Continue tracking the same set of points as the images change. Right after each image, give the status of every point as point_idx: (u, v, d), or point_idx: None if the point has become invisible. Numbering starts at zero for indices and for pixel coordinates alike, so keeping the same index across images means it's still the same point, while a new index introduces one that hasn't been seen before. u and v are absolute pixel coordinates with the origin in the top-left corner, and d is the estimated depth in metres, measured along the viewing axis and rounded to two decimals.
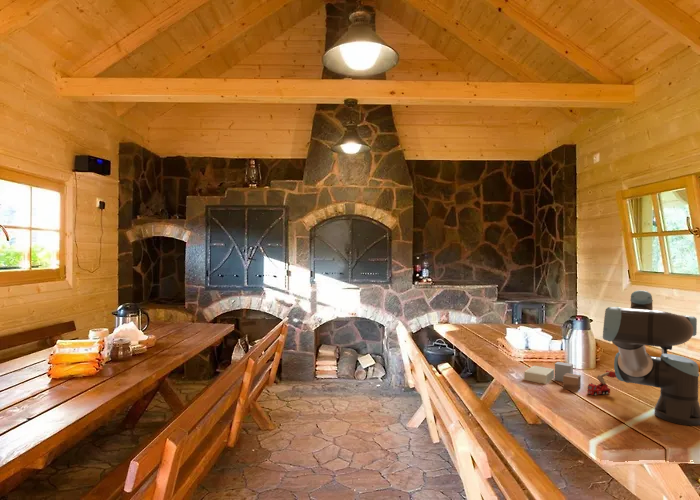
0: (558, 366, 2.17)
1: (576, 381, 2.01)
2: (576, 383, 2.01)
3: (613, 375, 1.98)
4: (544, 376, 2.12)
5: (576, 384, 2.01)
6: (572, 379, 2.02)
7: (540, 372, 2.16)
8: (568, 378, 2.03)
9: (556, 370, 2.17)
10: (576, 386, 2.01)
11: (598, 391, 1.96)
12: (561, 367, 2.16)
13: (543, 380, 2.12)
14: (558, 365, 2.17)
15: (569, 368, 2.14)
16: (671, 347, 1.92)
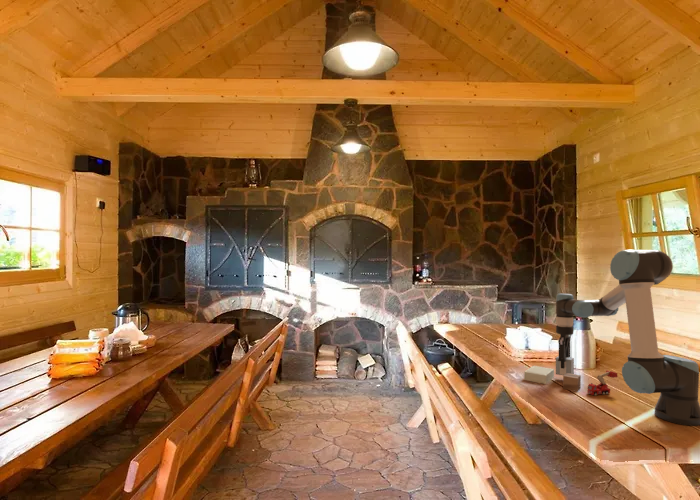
0: None
1: (576, 381, 2.01)
2: (576, 383, 2.01)
3: (613, 375, 1.98)
4: (544, 376, 2.12)
5: (576, 384, 2.01)
6: (572, 379, 2.02)
7: (540, 372, 2.16)
8: (568, 378, 2.03)
9: (557, 364, 2.17)
10: (576, 386, 2.01)
11: (598, 391, 1.96)
12: None
13: (543, 380, 2.12)
14: None
15: (570, 362, 2.13)
16: None
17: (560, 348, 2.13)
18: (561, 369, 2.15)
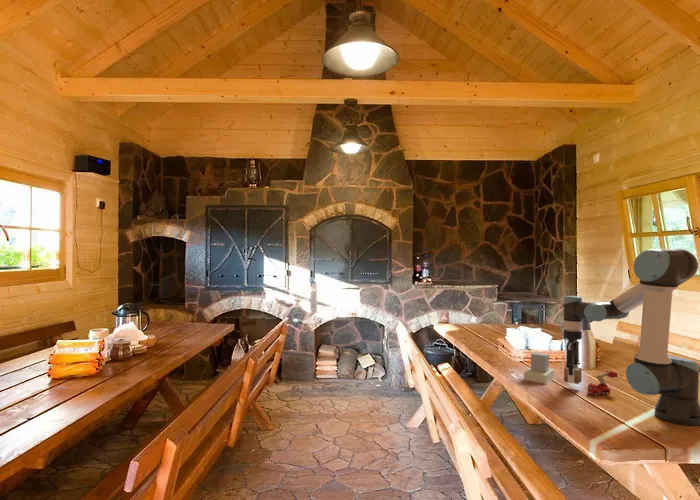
0: (534, 356, 2.19)
1: (577, 373, 2.01)
2: (577, 375, 2.01)
3: (613, 375, 1.98)
4: (544, 376, 2.12)
5: (577, 376, 2.01)
6: None
7: (540, 372, 2.16)
8: None
9: (532, 360, 2.19)
10: (577, 378, 2.01)
11: (598, 391, 1.96)
12: (537, 357, 2.18)
13: (543, 380, 2.12)
14: (534, 355, 2.19)
15: (544, 358, 2.16)
16: None
17: (568, 354, 2.00)
18: (569, 376, 2.02)
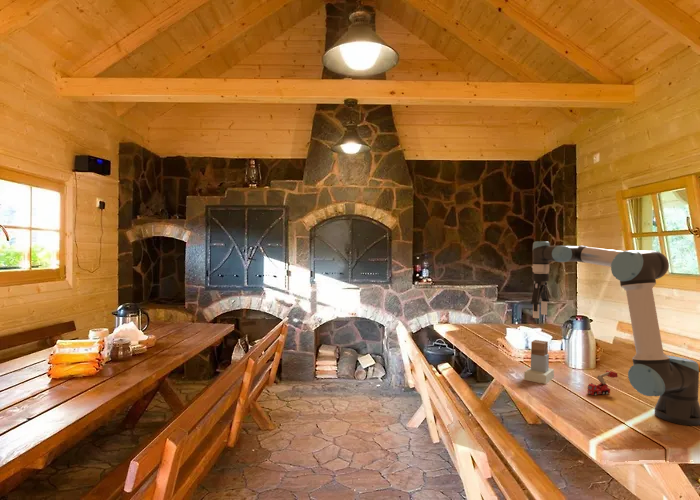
0: (534, 356, 2.19)
1: (543, 346, 2.16)
2: (543, 348, 2.16)
3: (613, 375, 1.98)
4: (544, 376, 2.12)
5: (543, 349, 2.16)
6: (539, 344, 2.17)
7: (540, 372, 2.16)
8: (536, 344, 2.18)
9: (532, 360, 2.19)
10: (543, 351, 2.16)
11: (598, 391, 1.96)
12: (537, 357, 2.18)
13: (543, 380, 2.12)
14: (534, 355, 2.19)
15: (544, 358, 2.16)
16: None
17: (534, 291, 2.14)
18: (534, 312, 2.14)
